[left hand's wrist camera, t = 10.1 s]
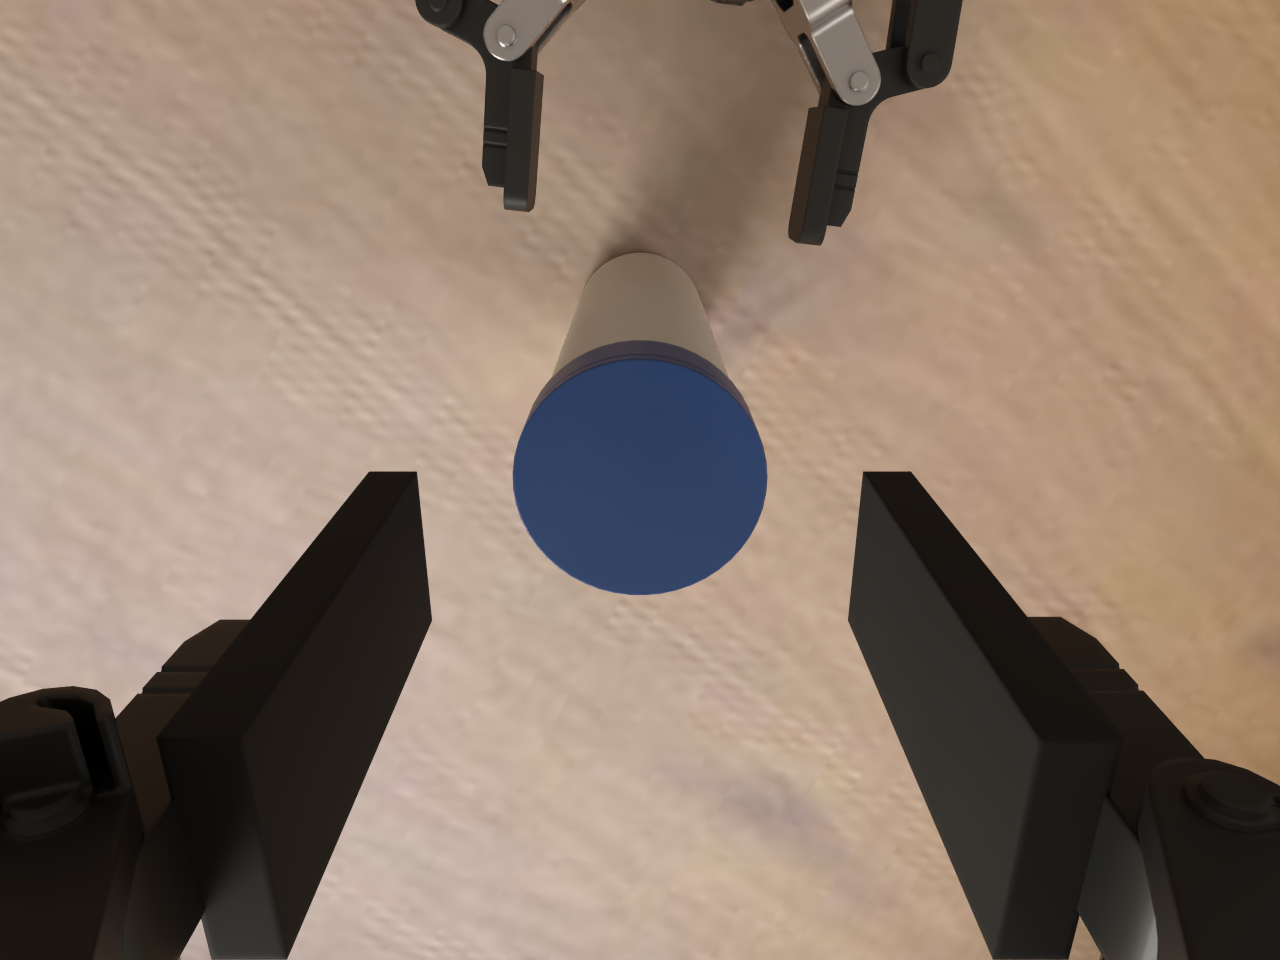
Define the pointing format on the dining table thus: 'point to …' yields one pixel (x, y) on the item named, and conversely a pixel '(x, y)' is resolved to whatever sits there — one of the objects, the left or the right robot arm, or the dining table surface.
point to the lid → (640, 468)
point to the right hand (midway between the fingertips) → (662, 225)
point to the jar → (639, 309)
